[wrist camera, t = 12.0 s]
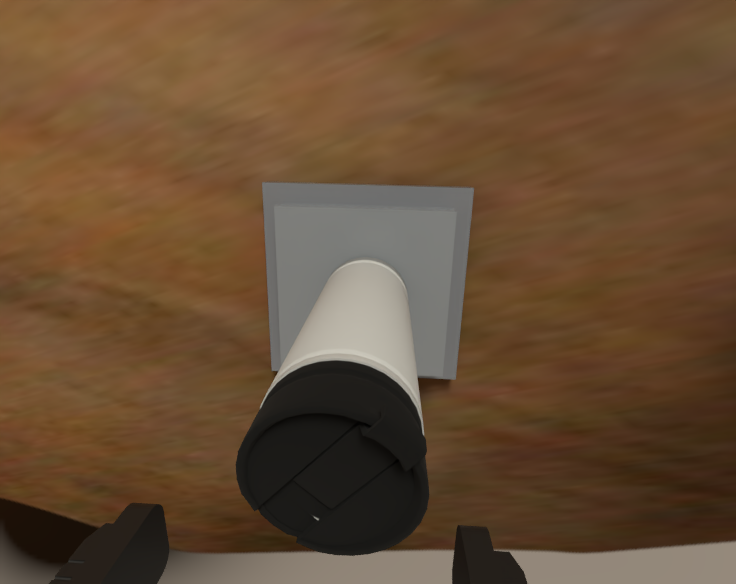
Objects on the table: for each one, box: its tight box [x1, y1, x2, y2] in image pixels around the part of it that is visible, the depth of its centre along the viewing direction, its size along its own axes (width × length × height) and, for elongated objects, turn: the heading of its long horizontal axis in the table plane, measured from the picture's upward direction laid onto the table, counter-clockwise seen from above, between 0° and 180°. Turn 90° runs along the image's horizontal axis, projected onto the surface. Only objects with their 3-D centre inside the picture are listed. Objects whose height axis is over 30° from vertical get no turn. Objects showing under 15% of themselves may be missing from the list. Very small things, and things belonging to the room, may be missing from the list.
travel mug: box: [236, 257, 429, 556], centre depth 22 cm, size 6×7×20 cm
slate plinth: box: [262, 182, 474, 379], centre depth 33 cm, size 16×16×4 cm
